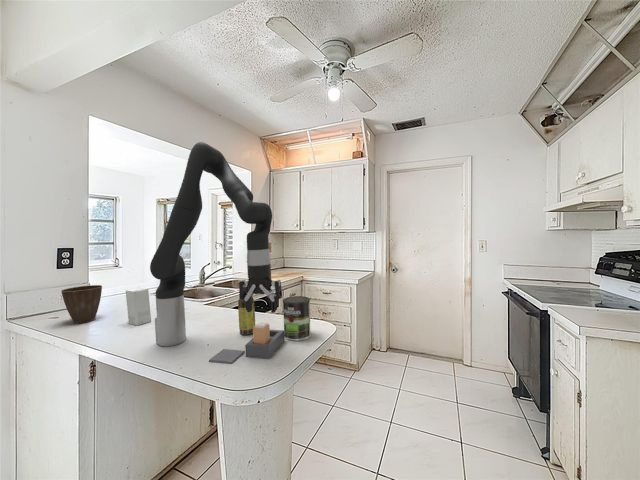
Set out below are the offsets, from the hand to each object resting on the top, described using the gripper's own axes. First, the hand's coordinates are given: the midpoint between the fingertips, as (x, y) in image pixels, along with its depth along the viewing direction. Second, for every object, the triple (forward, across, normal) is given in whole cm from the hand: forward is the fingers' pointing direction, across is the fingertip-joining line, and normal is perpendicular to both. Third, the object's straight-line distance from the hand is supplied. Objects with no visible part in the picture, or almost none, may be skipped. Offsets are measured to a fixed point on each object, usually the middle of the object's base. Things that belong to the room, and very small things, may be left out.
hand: (261, 311), depth 93 cm
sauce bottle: (+14, +14, -16) cm, 25 cm away
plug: (+14, 0, 0) cm, 14 cm away
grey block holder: (+14, 0, -3) cm, 14 cm away
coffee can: (+14, -7, -16) cm, 22 cm away
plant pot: (+13, +101, -18) cm, 104 cm away
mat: (+14, +10, +5) cm, 18 cm away
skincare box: (+13, +71, -20) cm, 75 cm away
